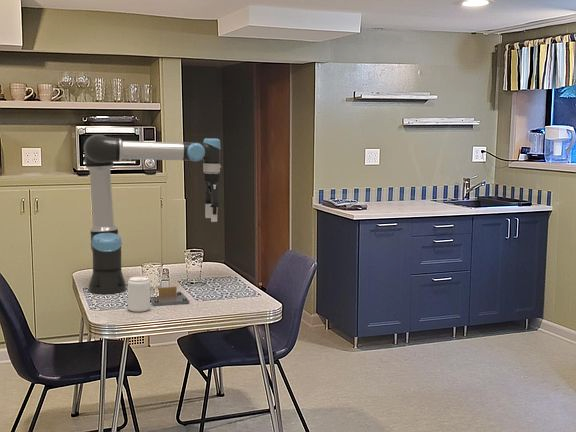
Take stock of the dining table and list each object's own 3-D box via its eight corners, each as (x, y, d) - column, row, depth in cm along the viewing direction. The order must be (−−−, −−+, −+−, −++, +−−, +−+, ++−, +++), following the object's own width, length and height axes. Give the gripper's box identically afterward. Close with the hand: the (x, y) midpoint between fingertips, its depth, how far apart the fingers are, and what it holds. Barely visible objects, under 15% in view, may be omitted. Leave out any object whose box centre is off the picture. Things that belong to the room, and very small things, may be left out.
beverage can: (140, 306, 270) (140, 275, 268) (154, 309, 265) (154, 278, 263) (123, 309, 264) (123, 278, 262) (137, 313, 259) (137, 281, 257)
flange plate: (153, 306, 270) (153, 295, 270) (147, 297, 283) (147, 288, 283) (189, 303, 275) (189, 293, 274) (182, 295, 288) (182, 286, 287)
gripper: (225, 174, 305) (225, 223, 308) (214, 171, 329) (213, 216, 331) (208, 174, 303) (208, 223, 305) (198, 171, 327) (198, 216, 329)
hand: (211, 219), depth 318 cm, fingers open, 13 cm apart
